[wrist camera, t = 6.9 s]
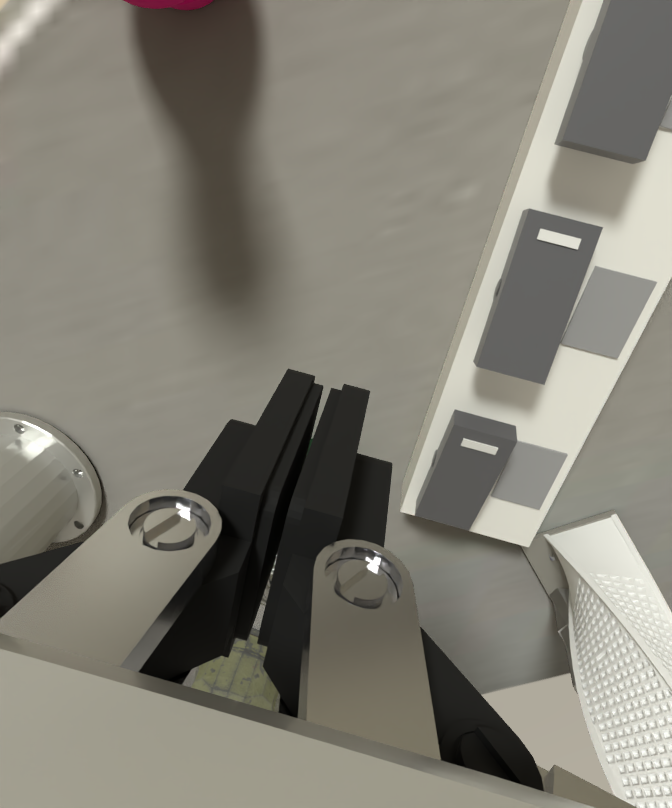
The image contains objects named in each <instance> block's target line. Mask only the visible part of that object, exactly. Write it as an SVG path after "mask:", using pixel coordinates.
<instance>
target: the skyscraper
mask: <svg viewBox="0 0 672 808" xmlns="http://www.w3.org/2000/svg"><path fill="white" fill-rule="evenodd" d="M520 546H521V545H520ZM521 547H522V549H523V551H524V553H525V555H526V556H527V558H528V560H529V562H530V563H531V565H532V567H533V569H534V570H535V572H536V574H537V576H538V578H539V579H540V581H541V583H542V585H543V586H544V588H545V590H546V592H547V594H548V595H549V597H550V599H551V601H552V602H553V604H554V608H555V615H556V622H557V629H558V633H559V634H560V636H561V638H562V640H564V643H565V647H566V652H567V657H568V662H569V668H570V673H571V678H572V683H573V687H574V689H575V691H576V692H577V694H578V696H579V700H580V704H581V708H582V712H583V715H584V718H585V722H586V725H587V728H588V731H589V735H590V737H591V740H592V742H593V745H594V748H595V751H596V753H597V756H598V759H599V761H600V764H601V766H602V768H603V771H604V773H605V775H606V778H607V780H608V782H609V784H610V787H611V789H612V791H613V793H614V795H615V796H616V797H618V798H620V799H622V800H623V801H625V802H627V803H629V804H631V805H633V806H635V807H637V808H672V612H671V610H670V608H669V606H668V604H667V603H666V601H665V599H664V597H663V595H662V593H661V592H660V590H659V588H658V586H657V584H656V582H655V581H654V579H653V577H652V575H651V573H650V571H649V570H648V568H647V566H646V564H645V563H644V561H643V559H642V557H641V556H640V554H639V552H638V551H637V549H636V547H635V545H634V544H633V542H632V540H631V538H630V537H629V535H628V533H627V531H626V530H625V528H624V526H623V524H622V523H621V521H620V519H619V517H618V516H617V514H616V513H615V511H614V510H611V511H608V512H605V513H602V514H599V515H596V516H593V517H589V518H586V519H583V520H580V521H577V522H574V523H571V524H567V525H564V526H561V527H558V528H555V529H552V530H548V531H545V532H542V533H539V534H536V535H535V537H534V538H533V540H532V542H531V544H530V546H529V547H525V546H521Z"/></svg>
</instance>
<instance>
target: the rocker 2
mask: <svg viewBox="0 0 672 808" xmlns="http://www.w3.org/2000/svg"><path fill="white" fill-rule="evenodd" d="M582 60H583V62H582V64H581V67H580V70H579V73H578V76H577V79H576V82H575V85H574V88H573V91H572V94H571V97H570V100H569V102H568V105H567V108H566V111H565V114H564V117H563V120H562V123H561V126H560V129H559V132H558V135H557V137H556V140H555V143H554V144H555V145H558V146H562V147H566V148H570V149H574V150H578V151H582V152H586V153H590V154H594V155H598V156H602V157H606V158H610V159H614V160H618V161H622V162H626V163H630V164H635V163H639V162H642V161H646V158H647V156H648V153H649V151H650V148H651V146H652V143H653V141H654V138H655V136H656V133H657V131H658V128H659V126H660V123H661V121H662V118H663V116H664V113H665V111H666V108H667V105H668V103H669V100H670V98H671V95H672V0H603V3H602V6H601V9H600V12H599V15H598V18H597V21H596V24H595V26H594V29H593V31H592V32H591V34H590V36H589V38H588V41H587V43H586V46H585V49H584V52H583V56H582Z"/></svg>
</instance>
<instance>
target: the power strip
mask: <svg viewBox="0 0 672 808" xmlns="http://www.w3.org/2000/svg"><path fill="white" fill-rule="evenodd" d="M602 3H603V0H570V3H569V6H568V9H567V12H566V15H565V17H564V20H563V23H562V26H561V29H560V32H559V35H558V38H557V40H556V43H555V46H554V49H553V52H552V55H551V58H550V61H549V63H548V66H547V69H546V72H545V75H544V78H543V81H542V84H541V86H540V89H539V92H538V95H537V98H536V101H535V104H534V107H533V109H532V112H531V115H530V118H529V121H528V124H527V127H526V129H525V132H524V135H523V138H522V141H521V144H520V147H519V150H518V152H517V155H516V158H515V161H514V164H513V167H512V170H511V173H510V175H509V178H508V181H507V184H506V187H505V190H504V193H503V196H502V198H501V201H500V204H499V207H498V210H497V213H496V216H495V219H494V221H493V224H492V227H491V230H490V233H489V236H488V239H487V242H486V244H485V247H484V250H483V253H482V256H481V259H480V262H479V264H478V267H477V270H476V273H475V276H474V279H473V282H472V285H471V287H470V290H469V293H468V296H467V299H466V302H465V305H464V308H463V310H462V313H461V316H460V319H459V322H458V325H457V328H456V331H455V333H454V336H453V339H452V342H451V345H450V348H449V351H448V354H447V356H446V359H445V362H444V365H443V368H442V371H441V374H440V377H439V379H438V382H437V385H436V388H435V391H434V394H433V397H432V399H431V402H430V405H429V408H428V411H427V414H426V417H425V420H424V422H423V425H422V428H421V431H420V434H419V437H418V440H417V443H416V445H415V448H414V451H413V454H412V457H411V460H410V463H409V466H408V468H407V471H406V474H405V477H404V480H403V485H402V496H401V508H400V512H403V513H407V514H410V515H414V516H415V508H416V499H417V497H418V495H419V492H420V490H421V488H422V485H423V483H424V480H425V478H426V476H427V473H428V471H429V469H430V466H431V463H432V459H433V455H434V453H435V450H438V447H439V445H440V443H441V440H442V438H443V436H444V433H445V431H446V428H447V426H448V424H449V421H450V419H451V417H452V414H453V412H454V410H459V411H463V412H466V413H470V414H474V415H477V416H481V417H485V418H489V419H492V420H496V421H500V422H503V423H507V424H511V425H514V426H516V433H517V443H516V445H515V447H514V449H513V451H512V453H511V454H510V456H509V458H508V460H507V462H506V464H505V465H504V467H503V469H502V471H501V473H500V475H499V477H498V478H497V480H496V482H495V484H494V486H493V488H492V489H491V491H490V493H489V495H488V497H487V499H486V500H485V502H484V504H483V506H482V508H481V510H480V511H479V513H478V515H477V517H476V519H475V521H474V522H473V524H472V526H471V528H470V530H469V531H471V532H475V533H478V534H482V535H486V536H489V537H493V538H496V539H500V540H504V541H507V542H511V543H514V544H518V545H521V546H525V547H529V546H530V544H531V542H532V540H533V538H534V537H535V535H536V533H537V531H538V529H539V527H540V525H541V523H542V521H543V519H544V518H545V516H546V514H547V512H548V510H549V508H550V506H551V504H552V502H553V501H554V499H555V497H556V495H557V493H558V491H559V489H560V487H561V485H562V484H563V482H564V480H565V478H566V476H567V474H568V472H569V470H570V468H571V466H572V465H573V463H574V461H575V459H576V457H577V455H578V453H579V451H580V449H581V448H582V446H583V444H584V442H585V440H586V438H587V436H588V434H589V432H590V430H591V429H592V427H593V425H594V423H595V421H596V419H597V417H598V415H599V413H600V412H601V410H602V408H603V406H604V404H605V402H606V400H607V398H608V396H609V395H610V393H611V391H612V389H613V387H614V385H615V383H616V381H617V379H618V377H619V376H620V374H621V372H622V370H623V368H624V366H625V364H626V362H627V360H628V359H629V357H630V355H631V353H632V351H633V349H634V347H635V345H636V343H637V341H638V340H639V338H640V336H641V334H642V332H643V330H644V328H645V326H646V324H647V323H648V321H649V319H650V317H651V315H652V313H653V311H654V309H655V307H656V306H657V304H658V302H659V300H660V298H661V296H662V294H663V292H664V290H665V288H666V287H667V285H668V283H669V281H670V279H671V277H672V95H671V98H670V100H669V103H668V105H667V108H666V111H665V113H664V116H663V118H662V121H661V123H660V126H659V128H658V131H657V133H656V136H655V138H654V141H653V143H652V146H651V148H650V151H649V153H648V156H647V158H646V161H642V162H639V163H635V164H630V163H626V162H622V161H618V160H614V159H610V158H606V157H602V156H598V155H594V154H590V153H586V152H582V151H578V150H574V149H570V148H566V147H562V146H558V145H555V144H554V143H555V140H556V137H557V135H558V132H559V129H560V126H561V123H562V120H563V117H564V114H565V111H566V108H567V105H568V102H569V100H570V97H571V94H572V91H573V88H574V85H575V82H576V79H577V76H578V73H579V70H580V67H581V64H582V62H583V60H582V56H583V52H584V49H585V46H586V43H587V41H588V38H589V36H590V34H591V32H592V31H593V29H594V26H595V24H596V21H597V18H598V15H599V12H600V9H601V6H602ZM529 208H530V209H533V210H537V211H541V212H545V213H549V214H553V215H557V216H561V217H565V218H569V219H573V220H576V221H580V222H584V223H588V224H592V225H596V226H600V227H603V229H602V232H601V234H600V237H599V240H598V243H597V245H596V248H595V251H594V253H593V256H592V259H591V261H590V264H589V267H588V269H587V272H586V275H585V277H584V280H583V283H582V285H581V288H580V291H579V294H578V296H577V299H576V302H575V304H574V307H573V310H572V312H571V315H570V318H569V320H568V323H567V326H566V328H565V331H564V334H563V337H562V339H561V342H560V345H559V347H558V350H557V353H556V355H555V358H554V361H553V363H552V366H551V369H550V371H549V374H548V377H547V379H546V382H545V385H543V384H539V383H535V382H531V381H528V380H524V379H520V378H516V377H513V376H509V375H505V374H502V373H498V372H494V371H490V370H487V369H483V368H479V367H476V365H475V364H474V362H473V361H474V358H475V355H476V352H477V348H478V345H479V342H480V339H481V336H482V333H483V330H484V327H485V324H486V321H487V318H488V315H489V312H490V309H491V306H492V303H493V296H494V292H495V288H496V286H497V283H498V281H499V279H500V278H501V276H502V273H503V270H504V266H505V263H506V260H507V257H508V254H509V251H510V248H511V245H512V242H513V239H514V236H515V233H516V230H517V227H518V224H519V221H520V218H521V215H522V212H523V210H526V209H529ZM421 518H422V517H421ZM428 520H429V519H428ZM435 522H436V521H435ZM439 523H440V522H439ZM446 525H447V524H446ZM453 527H454V526H453ZM464 530H465V529H464Z"/></svg>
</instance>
